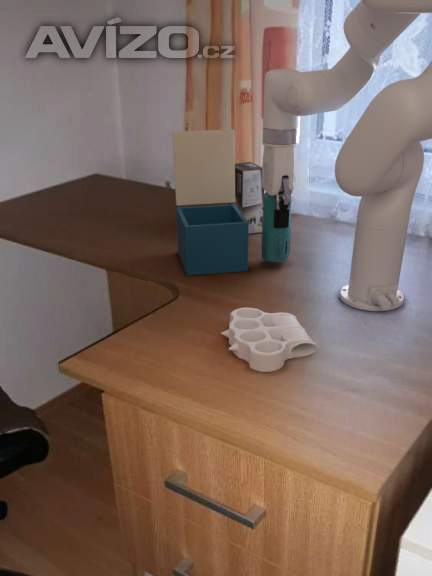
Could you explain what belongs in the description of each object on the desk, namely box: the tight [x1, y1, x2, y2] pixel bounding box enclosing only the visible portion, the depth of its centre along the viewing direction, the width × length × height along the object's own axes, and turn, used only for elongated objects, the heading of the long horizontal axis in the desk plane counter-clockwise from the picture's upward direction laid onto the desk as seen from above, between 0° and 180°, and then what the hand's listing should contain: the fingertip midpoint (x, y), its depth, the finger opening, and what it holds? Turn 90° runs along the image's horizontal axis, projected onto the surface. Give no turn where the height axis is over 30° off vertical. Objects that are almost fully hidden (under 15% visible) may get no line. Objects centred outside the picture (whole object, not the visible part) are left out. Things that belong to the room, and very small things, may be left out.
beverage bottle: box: [260, 191, 293, 263], centre depth 134 cm, size 6×7×20 cm
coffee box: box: [228, 161, 265, 235], centre depth 157 cm, size 9×6×16 cm
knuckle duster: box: [219, 307, 317, 373], centre depth 105 cm, size 3×18×15 cm
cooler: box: [176, 203, 250, 276], centre depth 138 cm, size 15×14×11 cm
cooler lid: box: [171, 129, 236, 207], centre depth 140 cm, size 16×14×5 cm
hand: (276, 221), depth 135 cm, fingers closed on beverage bottle, 6 cm apart
